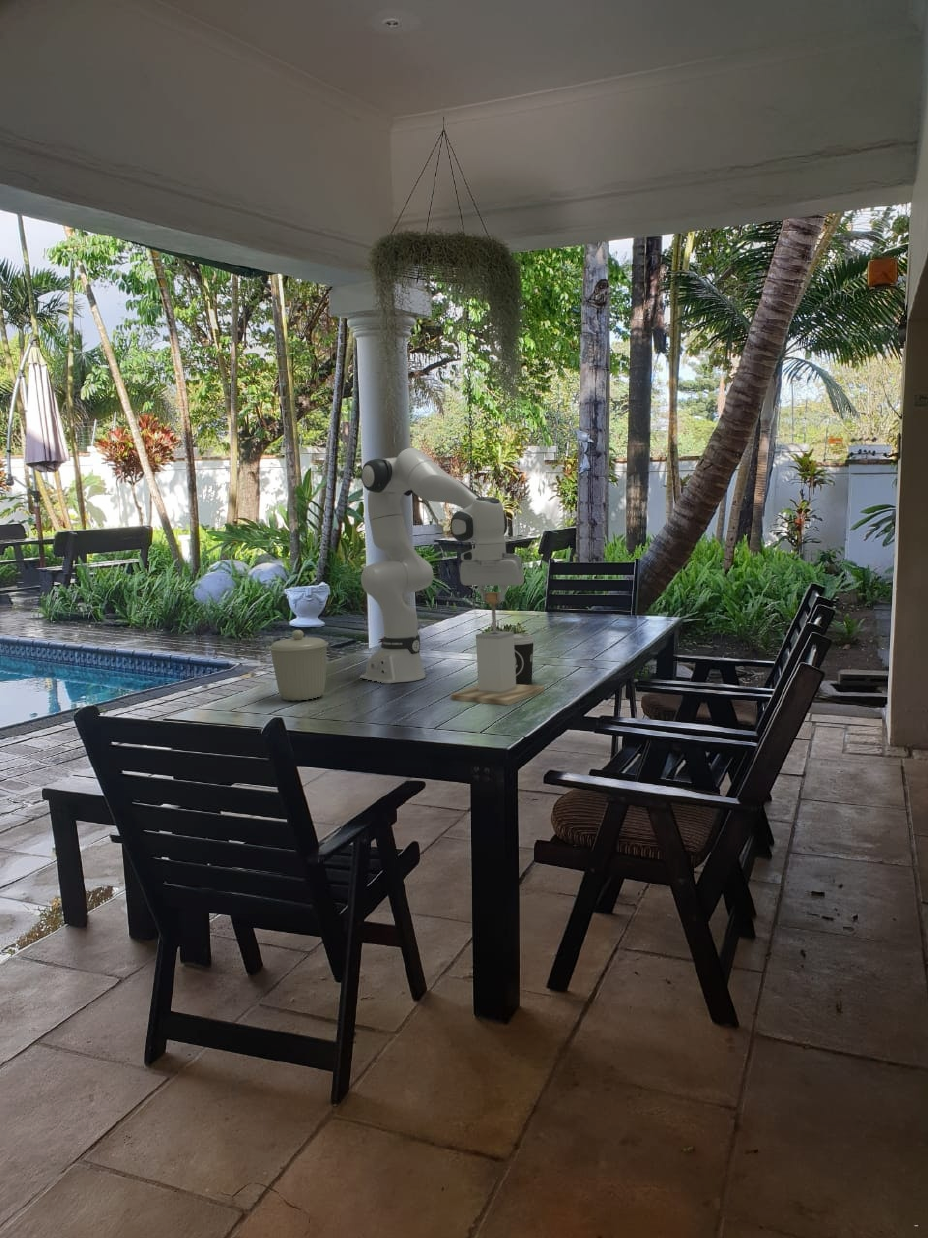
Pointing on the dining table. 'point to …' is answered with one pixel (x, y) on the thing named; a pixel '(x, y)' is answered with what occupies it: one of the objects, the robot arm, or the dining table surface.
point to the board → (497, 695)
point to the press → (496, 662)
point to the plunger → (493, 606)
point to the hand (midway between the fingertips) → (493, 601)
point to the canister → (300, 666)
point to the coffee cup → (523, 658)
